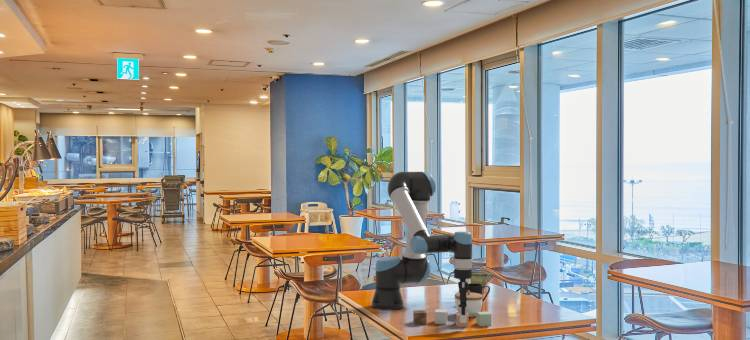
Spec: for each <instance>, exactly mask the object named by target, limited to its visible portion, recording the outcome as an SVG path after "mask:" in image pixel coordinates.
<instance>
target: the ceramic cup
mask: <svg viewBox="0 0 750 340" xmlns="http://www.w3.org/2000/svg"><path fill="white" fill-rule="evenodd" d="M490 276H492V277H491V278H490V279H489V280H488V281H487V278H488V277H490ZM493 279H494V276H493V274H490V273H488V272H487V271H482V270H472V278H470V279H469V280H470V284H481V285H483V286H487V284H488V283H489V282H490V281H492V280H493ZM485 288H486V287H484V288H483V292H485Z"/></svg>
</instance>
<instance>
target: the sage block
mask: <svg viewBox="0 0 750 340" xmlns="http://www.w3.org/2000/svg"><path fill="white" fill-rule="evenodd" d="M475 318H476V319H475V322H476V325H478V326H479V327H492V313H491V312H489V311H480V312H476V316H475Z"/></svg>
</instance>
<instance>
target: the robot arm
mask: <svg viewBox="0 0 750 340" xmlns="http://www.w3.org/2000/svg"><path fill="white" fill-rule="evenodd" d="M436 186H437V184H436V182H435V179H434V176H433V175H432V174H431V173H430V172H426V171H399V172H397V173H395V174H393V176H392V177H391V178H390V179H389V180H388V183H387V194H388V197H389V199H390V201H391V202H392V203H394V204H395V206H396V208H397V210H398V212H399V214H400V216H401V218H402V220H403V223H404V224H405V226H406V241H405V251H404V252H403V253H402V256H401V257H399V256H398V255H397V256H395V255H394V256H384V257H381V258H379V259H377V260H376V262H375V269H374V271H375V292H374V293H373V297H372V300H371V308H373V309H376V310H385V311H386V310H387V311H389V310H390V311H393V310H400V309H403V308H404V300H403V296H402V293H401V289H400V288H401V285H403V284H404V285H405V284H418V283H424V282H426V280H427V279H429V277H430V273H431V263H430V261H429V259H428V258H427V255H426V254H440V253H452V254H453V268H454V269H453V277H454V278H455V279H459V281H458V282H457V283H458V284H457V285H458V286H457V287H458V293H460V305H458V307H460V323H467V307H466V306H467V304H466V300H467V298H466V293H467V287H468V284H469V283H468V281H466V280H470V278H472V271H473V269H472V268H473V264H474V260H473V237H472V236H473V235H472V233H471V232H470V231H455V232H454V234H451V233H445V234H438V235H436V234H435V235H433V234H432V235H431V234H430V233H429V231H428V228H427V227H426V218H427V217H426V216H427V204H428V203H429V202H430V201H431V197H432V196H434V195H435V193H436V189H437V187H436Z"/></svg>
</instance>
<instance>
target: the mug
mask: <svg viewBox="0 0 750 340" xmlns="http://www.w3.org/2000/svg"><path fill="white" fill-rule="evenodd" d="M484 287H485V288H488V289H487V293H486V294H485V296H483V298H482V304H483V303H484V301H485V300H486V298H487V297H488V295H489V293H490V292H491V291H490V290H491V287H490V286H489V285H485V286H483V285H481V284H471V283H468V287H467V291H468V290H470V292H471V293H478V294H481V295H483V292H484V291H483V288H484ZM485 288H484V289H485Z"/></svg>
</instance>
